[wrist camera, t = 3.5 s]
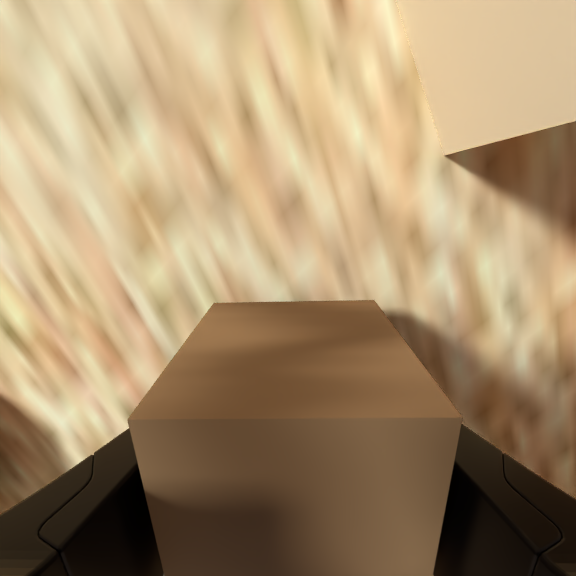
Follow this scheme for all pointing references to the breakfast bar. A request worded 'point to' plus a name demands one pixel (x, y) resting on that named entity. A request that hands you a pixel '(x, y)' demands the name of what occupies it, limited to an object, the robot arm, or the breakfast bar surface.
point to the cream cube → (493, 66)
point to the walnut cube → (296, 446)
